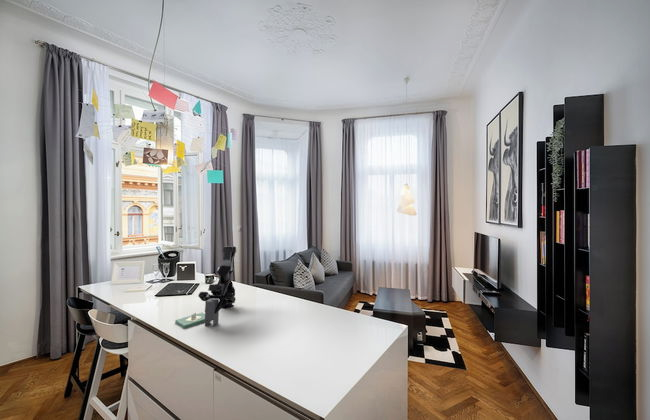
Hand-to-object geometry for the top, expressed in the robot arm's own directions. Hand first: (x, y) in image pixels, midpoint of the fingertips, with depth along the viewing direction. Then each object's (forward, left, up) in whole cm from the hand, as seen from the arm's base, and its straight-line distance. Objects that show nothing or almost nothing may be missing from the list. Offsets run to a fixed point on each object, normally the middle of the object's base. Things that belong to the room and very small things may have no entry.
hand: (210, 312), depth 134 cm
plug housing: (-1, -1, -7) cm, 7 cm away
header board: (+3, -12, -7) cm, 14 cm away
